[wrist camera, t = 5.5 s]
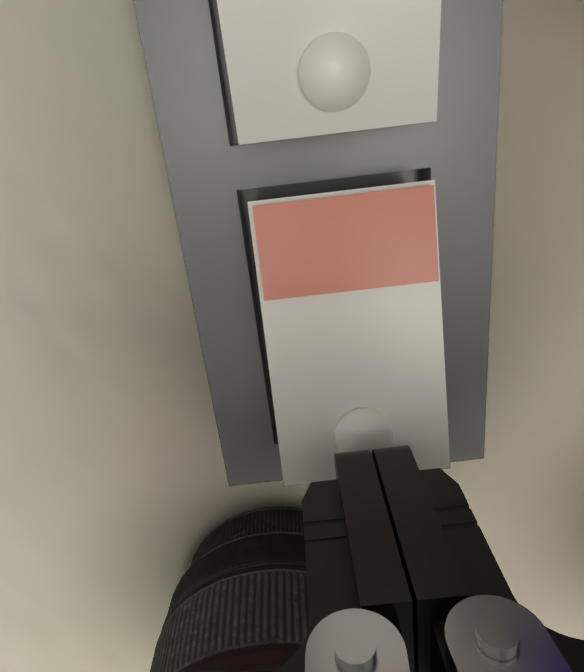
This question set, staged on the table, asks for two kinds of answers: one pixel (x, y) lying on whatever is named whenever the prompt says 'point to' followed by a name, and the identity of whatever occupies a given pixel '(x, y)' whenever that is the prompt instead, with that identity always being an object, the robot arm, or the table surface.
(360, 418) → the rocker
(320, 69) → the rocker
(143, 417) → the table surface
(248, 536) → the camera lens
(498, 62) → the power strip
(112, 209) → the table surface
